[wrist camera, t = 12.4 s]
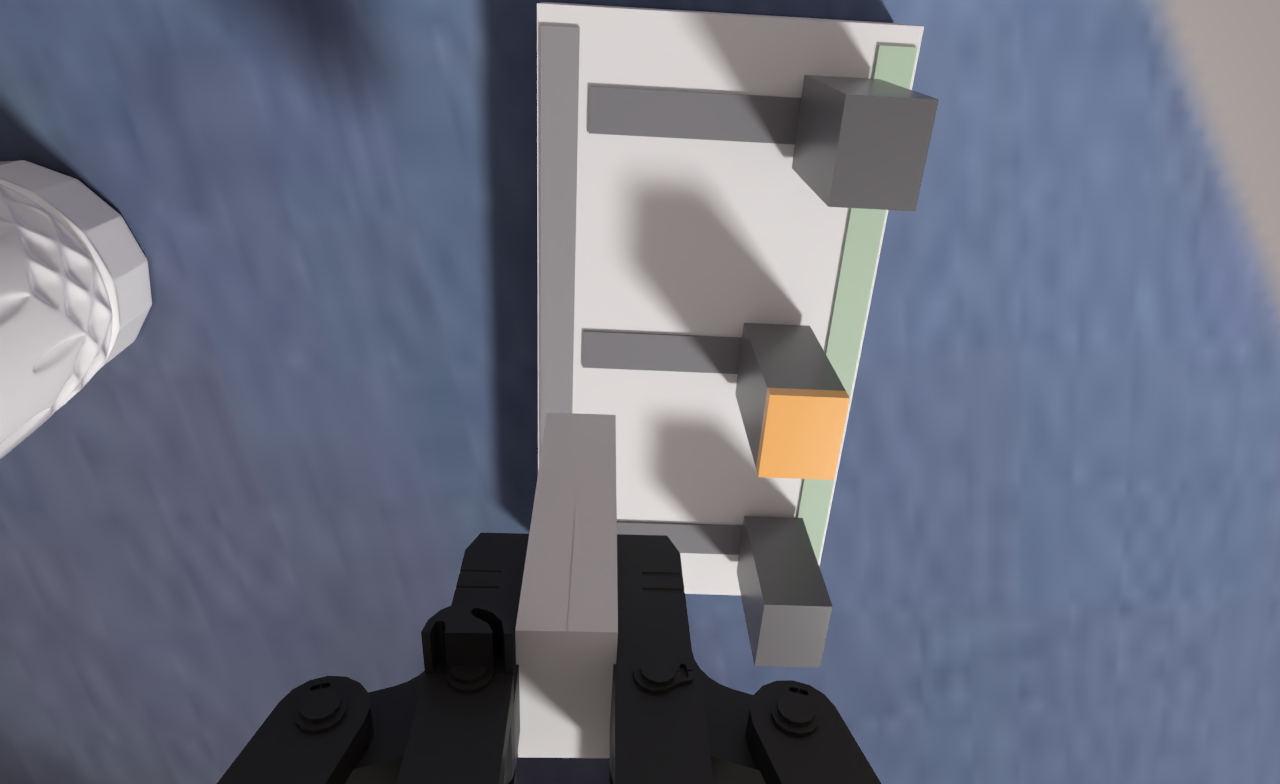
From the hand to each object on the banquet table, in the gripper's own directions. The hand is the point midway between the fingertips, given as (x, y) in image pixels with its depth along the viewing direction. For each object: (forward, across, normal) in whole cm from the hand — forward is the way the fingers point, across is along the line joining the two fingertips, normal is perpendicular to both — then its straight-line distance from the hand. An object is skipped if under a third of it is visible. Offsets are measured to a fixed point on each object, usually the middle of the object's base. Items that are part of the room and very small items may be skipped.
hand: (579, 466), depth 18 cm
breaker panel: (+10, +4, 0) cm, 10 cm away
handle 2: (+7, +6, +7) cm, 12 cm away
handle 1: (+7, +6, -7) cm, 12 cm away
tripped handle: (+7, +6, 0) cm, 9 cm away
